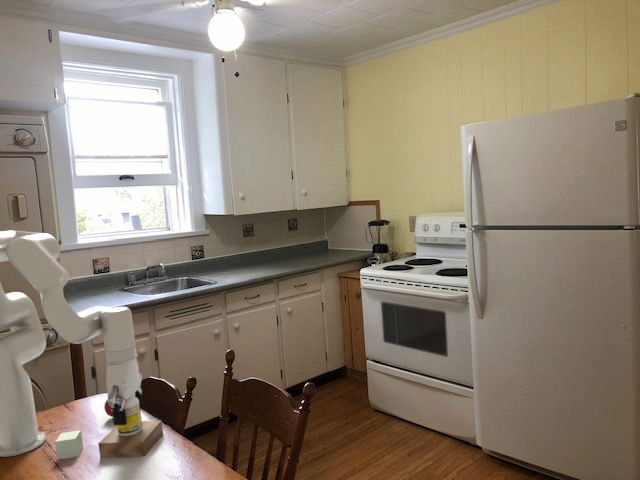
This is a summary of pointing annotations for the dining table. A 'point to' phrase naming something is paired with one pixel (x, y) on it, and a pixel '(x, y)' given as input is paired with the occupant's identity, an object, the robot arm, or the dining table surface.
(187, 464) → the dining table surface
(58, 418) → the dining table surface
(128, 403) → the pill bottle
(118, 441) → the walnut block
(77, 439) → the sage cube
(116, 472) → the dining table surface
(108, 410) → the onion
